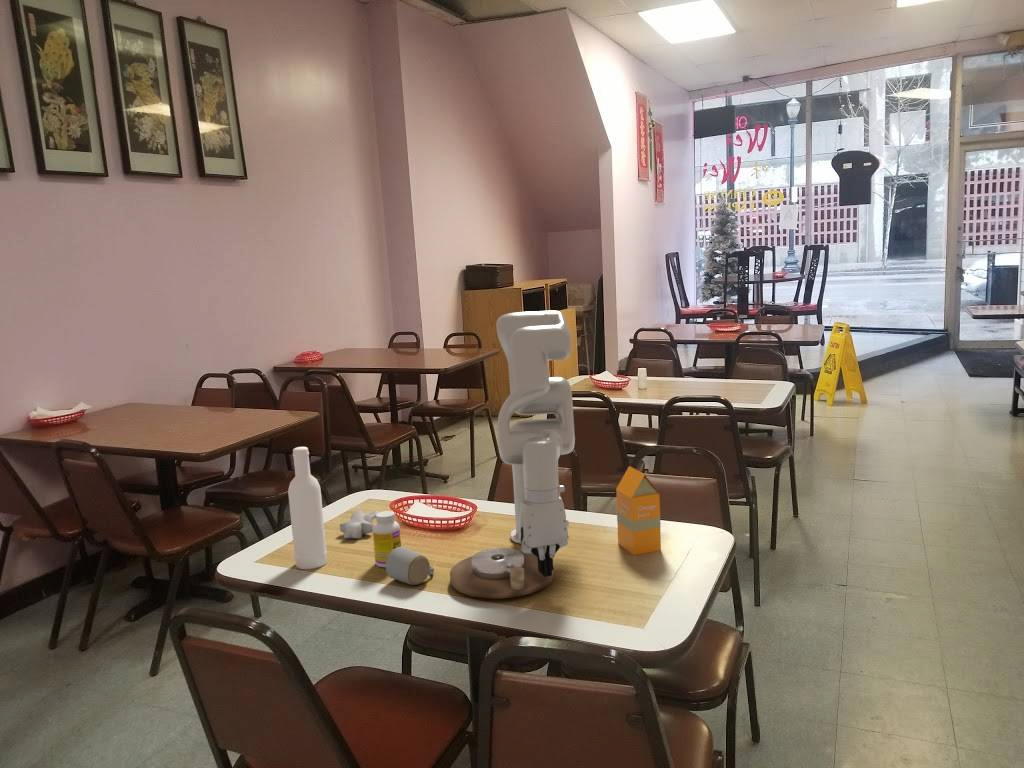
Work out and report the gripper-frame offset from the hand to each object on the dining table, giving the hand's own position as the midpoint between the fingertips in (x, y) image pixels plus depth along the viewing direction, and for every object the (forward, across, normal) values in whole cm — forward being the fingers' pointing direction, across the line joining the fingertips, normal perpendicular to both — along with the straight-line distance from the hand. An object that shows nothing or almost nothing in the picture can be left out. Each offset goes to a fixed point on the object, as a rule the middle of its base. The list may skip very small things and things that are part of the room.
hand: (545, 574), depth 171 cm
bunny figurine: (+4, +31, -61) cm, 69 cm away
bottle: (+4, +47, -43) cm, 63 cm away
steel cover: (+2, +7, -11) cm, 13 cm away
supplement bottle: (+4, +29, -34) cm, 44 cm away
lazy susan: (+4, +7, -10) cm, 13 cm away
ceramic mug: (+4, +25, -21) cm, 33 cm away
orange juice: (+4, -31, -14) cm, 35 cm away
